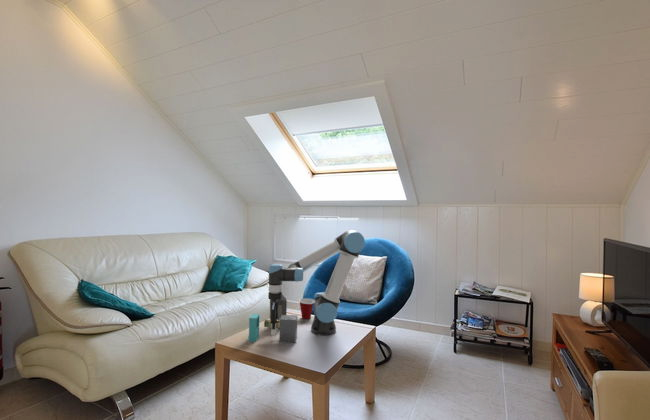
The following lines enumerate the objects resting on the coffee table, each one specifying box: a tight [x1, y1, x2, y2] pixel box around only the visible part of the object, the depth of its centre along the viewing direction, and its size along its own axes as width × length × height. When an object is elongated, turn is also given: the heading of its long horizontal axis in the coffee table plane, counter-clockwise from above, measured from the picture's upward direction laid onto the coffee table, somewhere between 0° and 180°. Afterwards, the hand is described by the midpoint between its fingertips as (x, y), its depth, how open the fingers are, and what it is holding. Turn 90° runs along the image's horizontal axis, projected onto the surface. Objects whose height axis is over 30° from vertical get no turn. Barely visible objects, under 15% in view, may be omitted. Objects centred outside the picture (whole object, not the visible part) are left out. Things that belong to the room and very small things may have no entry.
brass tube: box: [263, 319, 280, 328], centre depth 194 cm, size 18×5×5 cm, turn 89°
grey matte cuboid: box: [278, 314, 298, 344], centre depth 194 cm, size 9×8×13 cm
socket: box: [248, 313, 260, 343], centre depth 194 cm, size 4×8×13 cm, turn 179°
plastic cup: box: [298, 298, 315, 320], centre depth 234 cm, size 11×11×12 cm
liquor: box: [269, 293, 288, 329], centre depth 217 cm, size 9×9×30 cm
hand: (274, 332), depth 194 cm, fingers closed on brass tube, 5 cm apart
